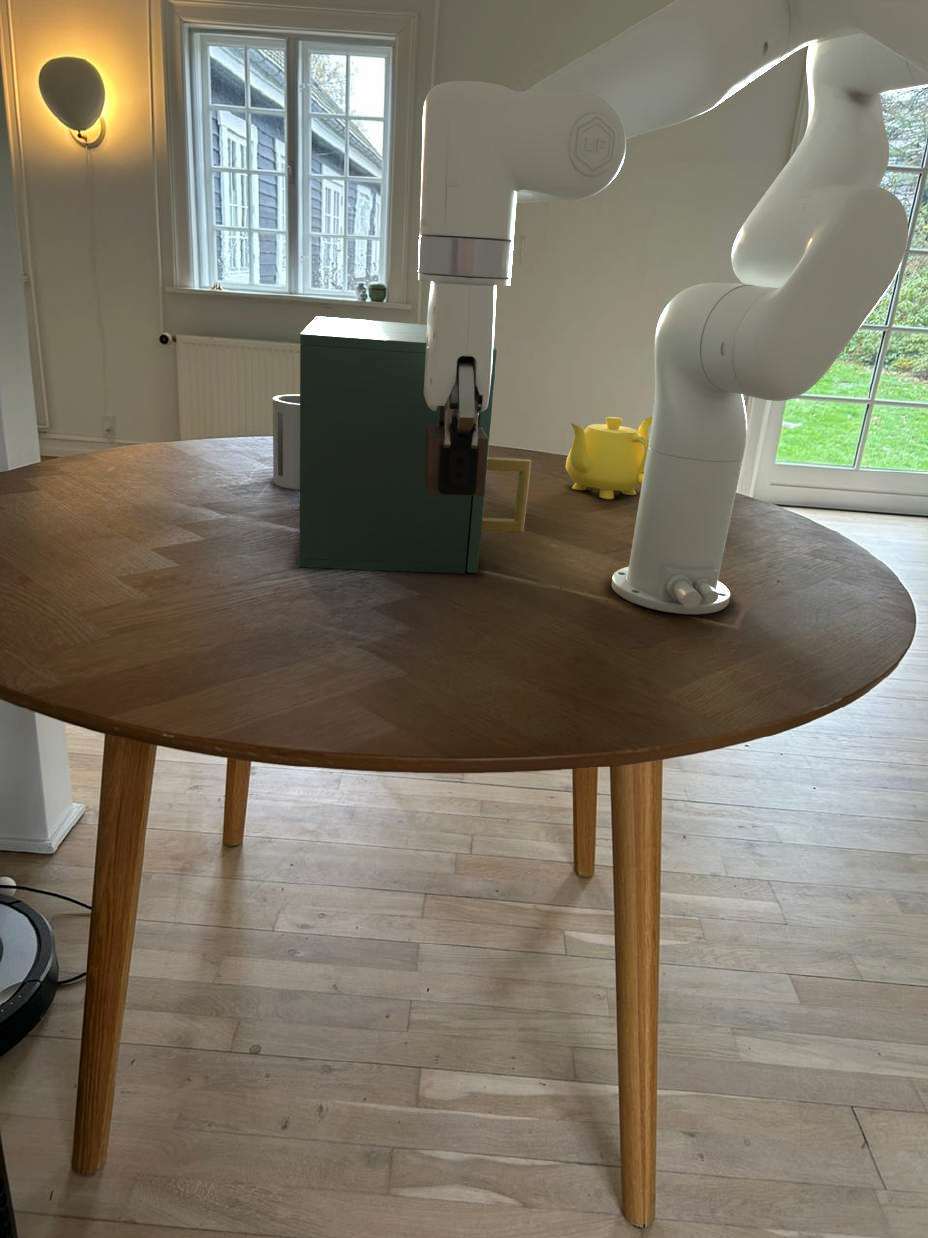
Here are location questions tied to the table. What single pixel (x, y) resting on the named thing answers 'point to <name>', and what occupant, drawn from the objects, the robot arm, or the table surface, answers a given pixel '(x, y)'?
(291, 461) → the cup
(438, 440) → the block
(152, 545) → the table surface
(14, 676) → the table surface
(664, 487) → the robot arm
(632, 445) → the teapot
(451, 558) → the cupboard
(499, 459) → the door
